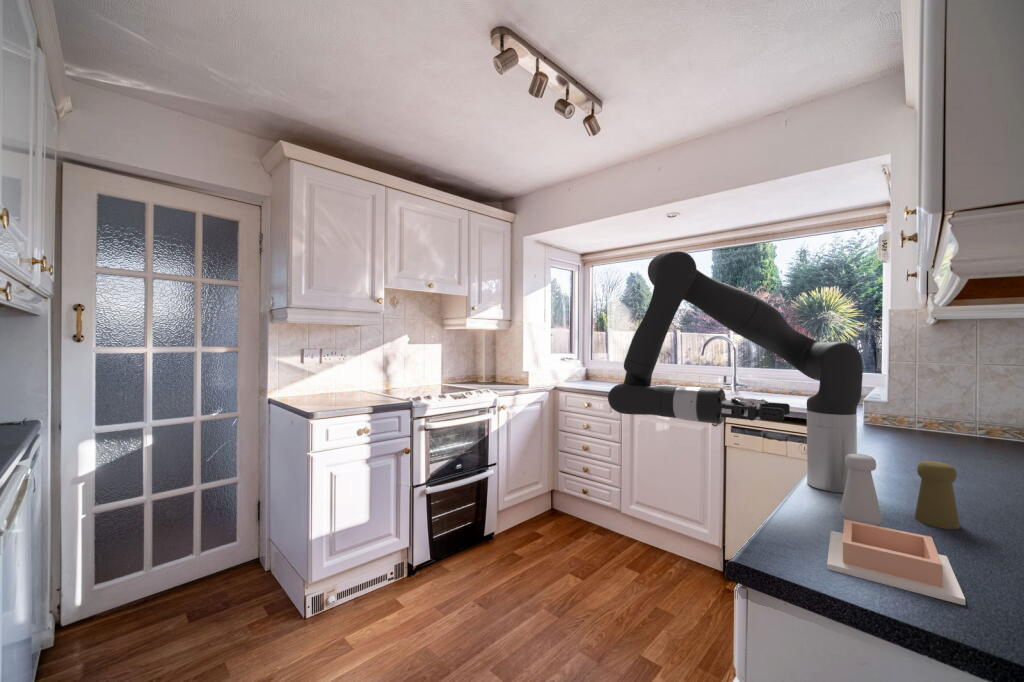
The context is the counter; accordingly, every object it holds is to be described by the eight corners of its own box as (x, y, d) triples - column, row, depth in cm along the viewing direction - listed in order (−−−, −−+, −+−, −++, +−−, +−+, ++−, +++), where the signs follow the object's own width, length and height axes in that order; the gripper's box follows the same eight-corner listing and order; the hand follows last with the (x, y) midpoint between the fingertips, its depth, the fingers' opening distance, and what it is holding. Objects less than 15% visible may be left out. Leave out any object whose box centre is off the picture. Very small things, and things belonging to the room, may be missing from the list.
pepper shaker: (968, 526, 77) (968, 465, 77) (947, 531, 75) (946, 468, 75) (927, 513, 83) (927, 456, 83) (906, 517, 81) (906, 459, 81)
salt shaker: (876, 538, 72) (875, 461, 72) (835, 526, 77) (835, 454, 77) (886, 529, 76) (885, 455, 76) (846, 518, 80) (846, 449, 81)
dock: (831, 535, 73) (831, 513, 73) (946, 561, 65) (946, 536, 65) (827, 569, 63) (827, 542, 63) (965, 605, 54) (965, 575, 54)
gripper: (689, 389, 88) (782, 396, 78) (707, 384, 99) (791, 389, 89) (689, 426, 88) (782, 437, 78) (707, 417, 99) (791, 425, 89)
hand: (786, 411), depth 83 cm, fingers open, 8 cm apart
